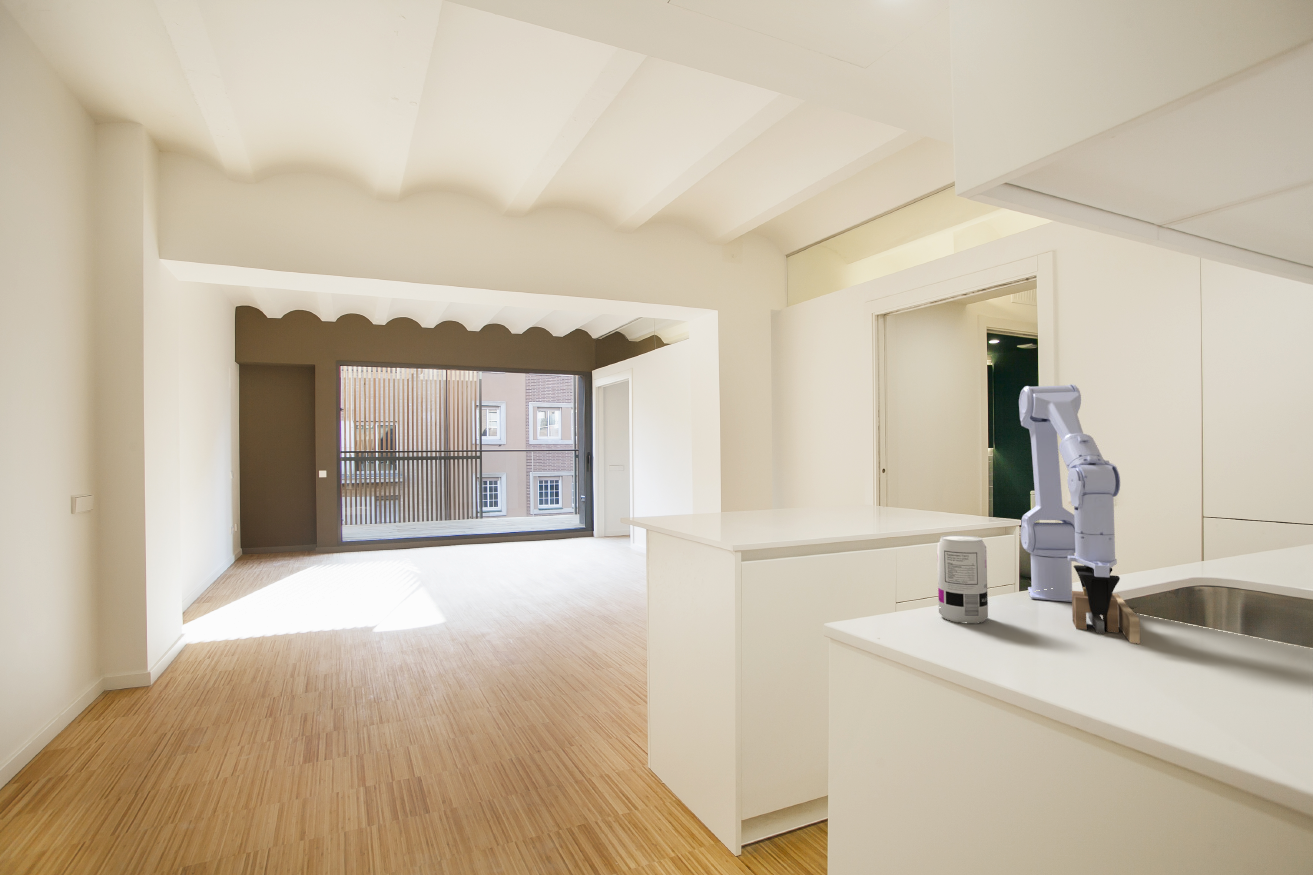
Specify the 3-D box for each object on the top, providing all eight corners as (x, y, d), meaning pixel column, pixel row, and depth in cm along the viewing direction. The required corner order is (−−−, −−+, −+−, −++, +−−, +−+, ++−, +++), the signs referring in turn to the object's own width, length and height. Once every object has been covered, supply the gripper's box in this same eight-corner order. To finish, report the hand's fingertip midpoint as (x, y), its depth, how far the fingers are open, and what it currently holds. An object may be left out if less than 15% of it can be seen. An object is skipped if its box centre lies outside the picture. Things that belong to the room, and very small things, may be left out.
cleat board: (1085, 612, 119) (1084, 591, 119) (1118, 615, 116) (1117, 593, 116) (1101, 639, 103) (1100, 615, 103) (1139, 643, 100) (1139, 618, 100)
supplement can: (929, 614, 119) (927, 536, 119) (964, 610, 122) (962, 533, 122) (962, 626, 112) (959, 542, 112) (998, 621, 114) (996, 539, 114)
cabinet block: (1072, 621, 113) (1071, 584, 113) (1113, 624, 111) (1111, 586, 111) (1076, 628, 109) (1075, 590, 109) (1118, 632, 106) (1117, 593, 106)
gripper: (1062, 526, 118) (1064, 598, 118) (1072, 537, 105) (1074, 618, 105) (1108, 528, 115) (1110, 602, 115) (1124, 539, 102) (1126, 623, 102)
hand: (1096, 610), depth 110 cm, fingers closed on cabinet block, 5 cm apart
